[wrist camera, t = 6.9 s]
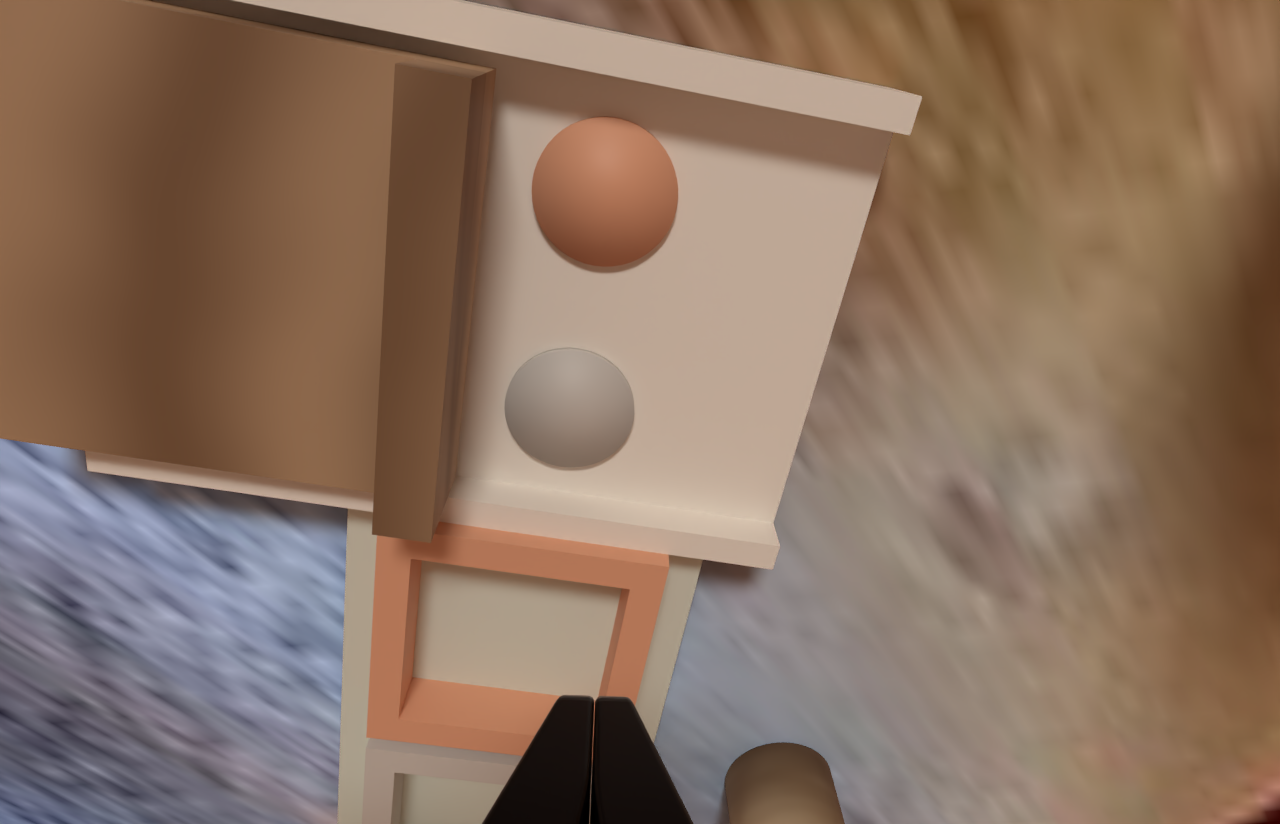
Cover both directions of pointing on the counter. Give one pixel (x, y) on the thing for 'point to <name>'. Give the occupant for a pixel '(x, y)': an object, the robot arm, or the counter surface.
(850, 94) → the housing base
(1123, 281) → the counter surface
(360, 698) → the board
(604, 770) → the robot arm
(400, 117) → the lid
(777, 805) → the peg
